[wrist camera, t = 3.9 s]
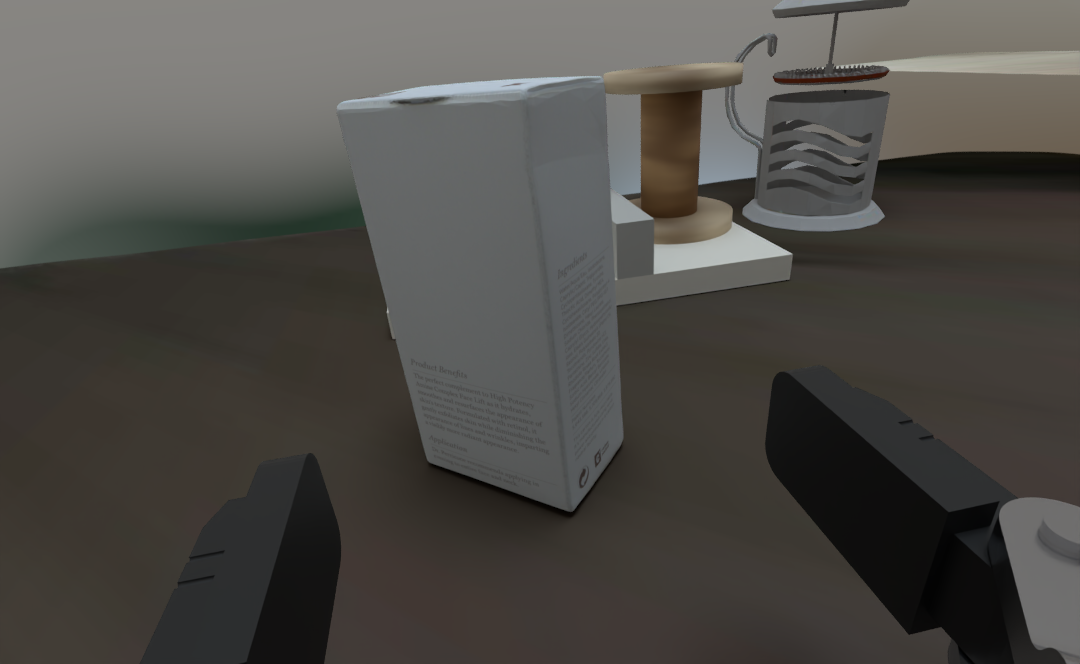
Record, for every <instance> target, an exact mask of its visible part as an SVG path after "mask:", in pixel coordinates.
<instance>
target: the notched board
mask: <svg viewBox="0 0 1080 664" xmlns="http://www.w3.org/2000/svg"><path fill="white" fill-rule="evenodd" d="M610 191H611V213H612V234H613V252H614V272H615V289H616V306H618V305H624V304H631V303H638V302H644V301H651V300H658V299H664V298H671V297H678V296H684V295H691V294H698V293H704V292H711V291H717V290H724V289H731V288H737V287H744V286H751V285H757V284H764V283H771V282H777V281H784V280H790V273H791V265H792V257H793V254H791V253H790V252H788V251H786V250H784V249H782V248H780V247H778V246H777V245H775V244H773V243H771V242H769V241H767V240H765V239H764V238H762V237H760V236H758V235H756V234H754V233H752V232H751V231H749V230H747V229H745V228H743V227H741V226H739V225H737V224H736V223H734V222H732V227H731V229H730V230H729V231H728V232H727V233H725V234H723V235H721V236H719V237H716V238H713V239H710V240H705V241H701V242H695V243H686V244H669V245H664V244H654V219H653V218H652V217H651V216H649V215H648V214H646V213H645V212H644V211H642V210H641V209H639V208H638V207H637V206H635V205H634V204H632V203H631V202H629V201H628V200H627V199H625V198H624V197H622V196H621V195H620V194H618V193H617V192H615V191H614V190H613V189H611V188H610ZM387 316H388V321H389V325H390V330H391V334H392V339H395V335H394V331H393V327H392V323H391V319H390V315H389V311H388V308H387Z"/></svg>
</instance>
